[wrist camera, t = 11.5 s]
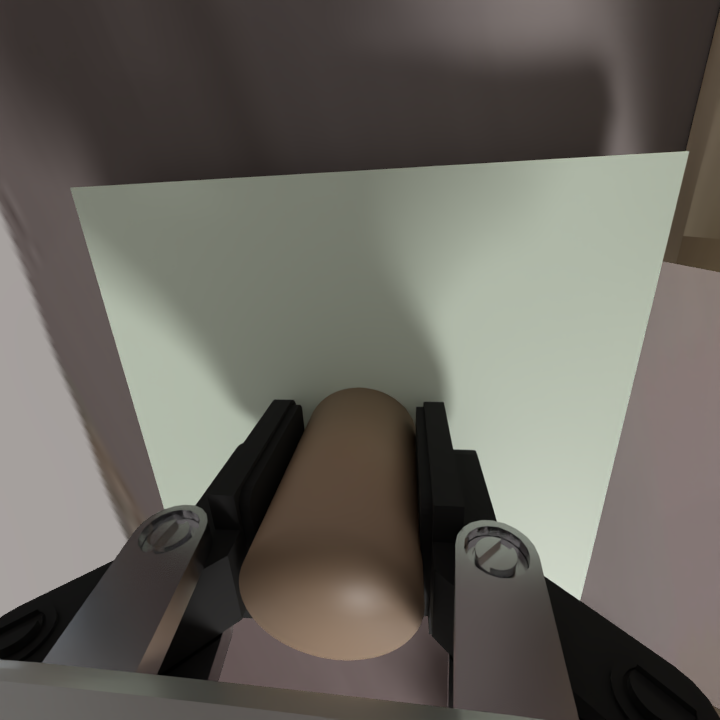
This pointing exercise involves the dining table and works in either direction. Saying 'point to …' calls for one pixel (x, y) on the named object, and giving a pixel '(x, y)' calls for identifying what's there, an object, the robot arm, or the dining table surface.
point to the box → (701, 179)
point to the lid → (386, 357)
